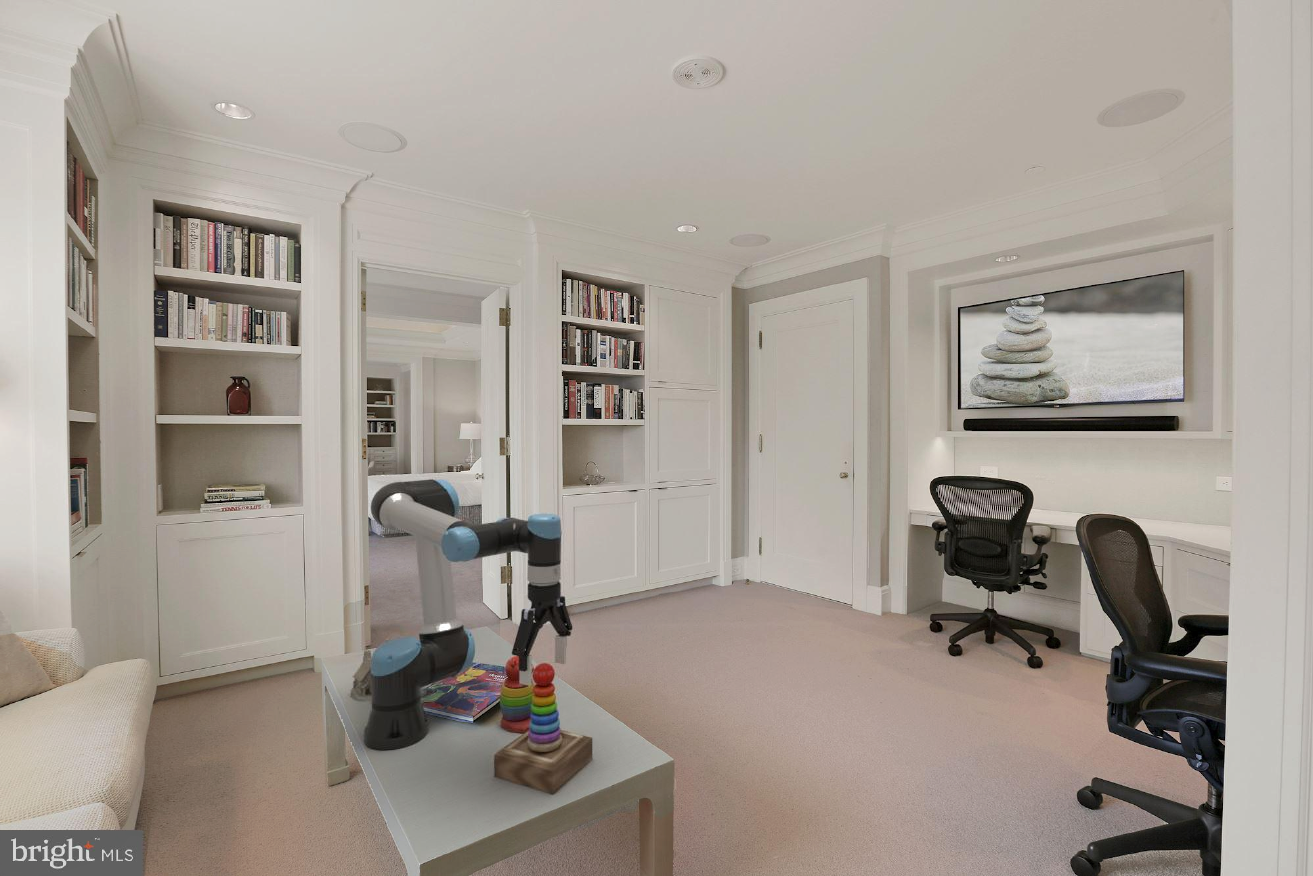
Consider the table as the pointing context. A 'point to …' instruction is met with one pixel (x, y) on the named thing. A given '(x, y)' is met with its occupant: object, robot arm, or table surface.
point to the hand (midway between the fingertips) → (543, 673)
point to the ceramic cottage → (363, 679)
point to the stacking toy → (544, 712)
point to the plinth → (543, 762)
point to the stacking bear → (515, 699)
